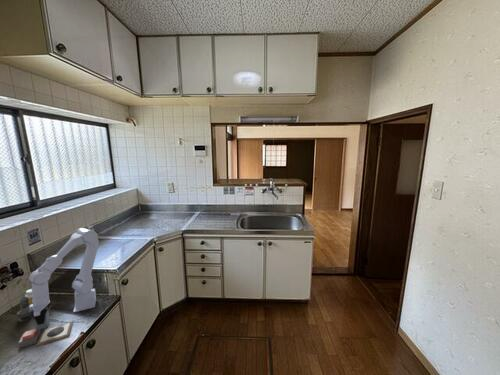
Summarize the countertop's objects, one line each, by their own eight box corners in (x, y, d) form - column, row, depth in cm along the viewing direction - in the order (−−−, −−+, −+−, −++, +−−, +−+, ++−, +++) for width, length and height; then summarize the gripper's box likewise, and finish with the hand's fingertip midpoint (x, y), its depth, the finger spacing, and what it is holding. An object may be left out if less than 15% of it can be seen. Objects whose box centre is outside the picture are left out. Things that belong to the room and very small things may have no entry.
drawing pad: (72, 322, 109) (72, 320, 108) (69, 336, 100) (68, 334, 100) (43, 331, 103) (43, 329, 103) (36, 346, 94) (36, 344, 94)
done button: (36, 332, 99) (36, 328, 99) (34, 338, 96) (33, 333, 96) (25, 335, 97) (25, 331, 97) (22, 341, 94) (22, 337, 94)
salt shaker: (23, 322, 108) (21, 300, 106) (14, 320, 109) (12, 298, 108) (36, 314, 113) (35, 293, 112) (28, 313, 114) (26, 291, 113)
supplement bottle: (41, 304, 121) (40, 288, 120) (29, 310, 116) (27, 294, 115) (35, 302, 123) (33, 286, 122) (22, 308, 118) (21, 292, 117)
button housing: (40, 334, 101) (40, 329, 101) (36, 342, 96) (36, 337, 96) (23, 339, 98) (23, 333, 98) (18, 348, 93) (18, 342, 93)
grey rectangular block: (49, 322, 108) (48, 305, 107) (47, 327, 105) (45, 310, 104) (38, 325, 106) (37, 308, 105) (35, 330, 103) (34, 313, 102)
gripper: (34, 289, 108) (35, 314, 109) (23, 305, 96) (25, 334, 97) (52, 285, 112) (54, 310, 113) (44, 301, 99) (46, 328, 101)
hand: (42, 320), depth 105 cm, fingers closed on grey rectangular block, 4 cm apart
